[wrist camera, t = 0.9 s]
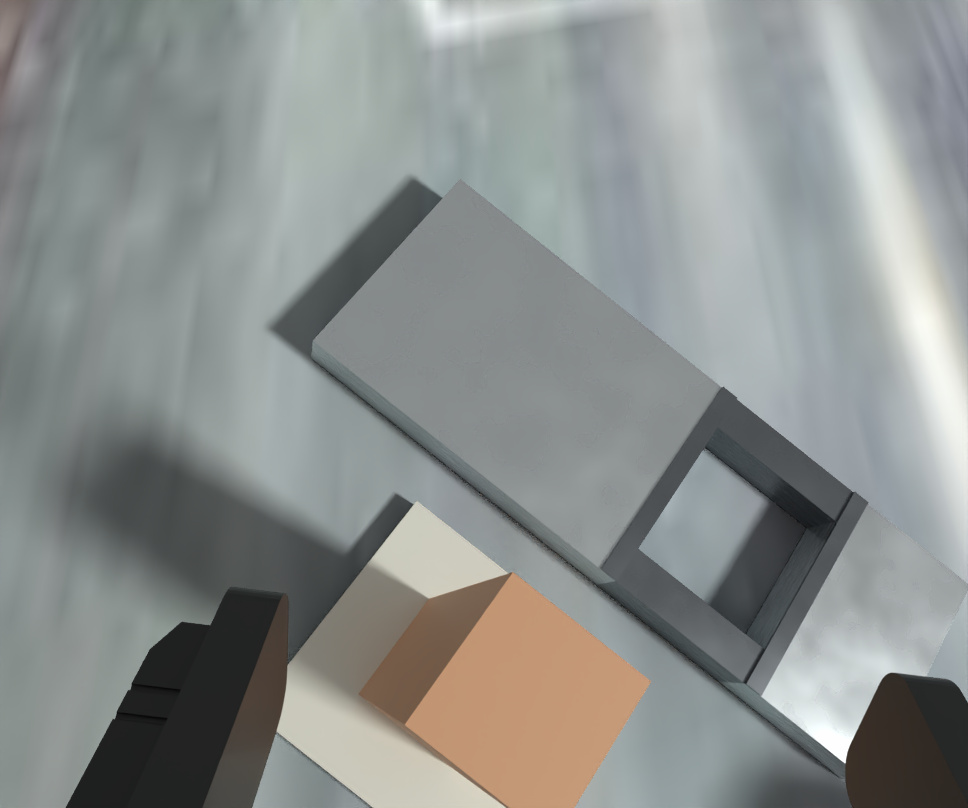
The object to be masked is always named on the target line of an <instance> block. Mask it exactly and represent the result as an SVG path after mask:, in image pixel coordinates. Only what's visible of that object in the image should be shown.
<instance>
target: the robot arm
mask: <svg viewBox="0 0 968 808" xmlns="http://www.w3.org/2000/svg"><path fill="white" fill-rule="evenodd" d="M287 658H288V596H287V594H285V593H277V592H269V591H261V590H253V589H245V588H237V587H230V588H229V589H228V590H227V592H226V594H225V596H224V598H223V600H222V602H221V604H220V606H219V608H218V610H217V613H216V615H215V617H214V619H213V621H212V623H211V625H203V624H195V623H187V622H181V623H180V624H179V625H178V626H176V627H175V628H174V629H173V630H172V631H171V632H169V633H168V634H167V635H166V636H165V637H164V638H162V639H161V640H160V641H159V642H158V643H157V644H155V645H154V646H153V647H152V648H151V649H150V650H149V652H148V654H147V656H146V658H145V660H144V661H143V663H142V665H141V667H140V669H139V671H138V673H137V675H136V676H135V678H134V680H133V682H132V687H131V690H128V692H127V693H126V695H125V697H124V699H123V701H122V703H121V705H120V707H119V708H118V710H117V715H116V718H115V719H113V720H112V722H111V723H110V725H109V727H108V729H107V731H106V733H105V735H104V737H103V739H102V740H101V742H100V744H99V746H98V748H97V750H96V752H95V754H94V755H93V757H92V759H91V761H90V763H89V765H88V767H87V769H86V770H85V772H84V774H83V776H82V778H81V780H80V782H79V784H78V786H77V787H76V789H75V791H74V793H73V795H72V797H71V799H70V801H69V802H68V804H67V806H66V808H252V806H253V803H254V800H255V797H256V793H257V790H258V787H259V784H260V781H261V778H262V775H263V772H264V768H265V765H266V762H267V759H268V756H269V753H270V750H271V746H272V743H273V740H274V737H275V734H276V731H277V728H278V724H279V721H280V717H281V713H282V708H283V703H284V698H285V691H286V684H287ZM845 779H846V787H847V792H848V796H849V799H850V802H851V804H852V807H853V808H968V703H967V701H966V699H965V697H964V696H963V694H962V692H961V691H960V689H959V688H958V686H957V685H956V684H955V683H953V682H952V681H950V680H948V679H941V678H933V677H925V676H917V675H909V674H901V673H888V674H887V675H885V676H884V677H883V679H882V680H881V682H880V684H879V686H878V688H877V690H876V692H875V694H874V696H873V698H872V700H871V702H870V704H869V706H868V709H867V711H866V713H865V715H864V717H863V719H862V721H861V723H860V725H859V727H858V729H857V731H856V733H855V736H854V738H853V740H852V742H851V744H850V746H849V749H848V752H847V756H846V763H845Z"/></svg>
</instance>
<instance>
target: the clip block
mask: <svg viewBox="0 0 968 808" xmlns="http://www.w3.org/2000/svg"><path fill="white" fill-rule="evenodd" d="M650 682H651V681H650V680H649V679H647V678H646V677H645V676H643V675H642V674H641V673H640V672H638V671H637V670H636V669H635V668H633V667H632V666H631V665H630V664H628V663H627V662H626V661H625V660H623V659H622V658H621V657H620V656H618V655H617V654H616V653H614V652H613V651H612V650H611V649H609V648H608V647H607V646H606V645H604V644H603V643H602V642H601V641H599V640H598V639H597V638H596V637H594V636H593V635H592V634H591V633H589V632H588V631H587V630H585V629H584V628H583V627H582V626H580V625H579V624H578V623H577V622H575V621H574V620H573V619H572V618H570V617H569V616H568V615H567V614H565V613H564V612H563V611H562V610H560V609H559V608H558V607H556V606H555V605H554V604H553V603H551V602H550V601H549V600H548V599H546V598H545V597H544V596H543V595H541V594H540V593H539V592H538V591H536V590H535V589H534V588H533V587H531V586H530V585H529V584H527V583H526V582H525V581H524V580H522V579H521V578H520V577H519V576H517V575H516V574H515V573H514V572H512V573H509V574H505V575H502V576H499V577H496V578H493V579H490V580H486V581H483V582H480V583H477V584H474V585H471V586H467V587H464V588H461V589H458V590H455V591H452V592H448V593H445V594H442V595H439V596H436V597H433V598H430V599H428V601H427V602H426V603H425V605H424V606H423V607H422V609H421V610H420V612H419V613H418V614H417V616H416V617H415V618H414V620H413V621H412V622H411V624H410V625H409V626H408V628H407V629H406V630H405V632H404V633H403V634H402V636H401V637H400V638H399V640H398V641H397V643H396V644H395V645H394V647H393V648H392V649H391V651H390V652H389V653H388V655H387V656H386V657H385V659H384V660H383V661H382V663H381V664H380V665H379V667H378V668H377V669H376V671H375V672H374V674H373V675H372V676H371V678H370V679H369V680H368V682H367V683H366V684H365V686H364V687H363V688H362V690H361V691H360V692H359V695H360V696H361V697H363V698H364V699H365V700H366V701H368V702H369V703H370V704H371V705H373V706H374V707H375V708H376V709H378V710H379V711H380V712H382V713H383V714H384V715H385V716H387V717H388V718H389V719H390V720H392V721H393V722H394V723H395V724H397V725H398V726H399V727H401V728H402V729H403V730H404V731H406V732H407V733H408V734H409V735H411V736H412V737H413V738H414V739H416V740H417V741H418V742H420V743H421V744H422V745H423V746H425V747H426V748H427V749H428V750H430V751H431V752H432V753H433V754H435V755H436V756H437V757H439V758H440V759H441V760H442V761H444V762H445V763H446V764H447V765H449V766H450V767H451V768H453V769H454V770H455V771H457V772H458V773H459V774H461V775H462V776H464V777H465V778H466V779H468V780H469V781H470V782H472V783H473V784H474V785H476V786H477V787H479V788H480V789H481V790H483V791H484V792H485V793H487V794H488V795H489V796H491V797H492V798H494V799H495V800H496V801H498V802H499V803H500V804H502V805H503V806H504V807H506V808H574V807H575V806H576V804H577V802H578V801H579V799H580V797H581V796H582V794H583V792H584V791H585V789H586V788H587V786H588V784H589V783H590V781H591V779H592V778H593V776H594V774H595V773H596V771H597V769H598V768H599V766H600V765H601V763H602V761H603V760H604V758H605V756H606V755H607V753H608V751H609V750H610V748H611V747H612V745H613V743H614V742H615V740H616V738H617V737H618V735H619V733H620V732H621V730H622V728H623V727H624V725H625V724H626V722H627V720H628V719H629V717H630V715H631V714H632V712H633V710H634V709H635V707H636V705H637V704H638V702H639V701H640V699H641V697H642V696H643V694H644V692H645V691H646V689H647V687H648V686H649V684H650Z"/></svg>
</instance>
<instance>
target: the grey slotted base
mask: <svg viewBox="0 0 968 808" xmlns="http://www.w3.org/2000/svg"><path fill="white" fill-rule="evenodd" d="M311 358H312V359H313V360H314V361H316V362H317V363H318V364H319V365H321V366H322V367H323V368H324V369H326V370H327V371H328V372H329V373H331V374H332V375H333V376H334V377H336V378H337V379H338V380H339V381H341V382H342V383H343V384H344V385H346V386H347V387H348V388H350V389H351V390H352V391H353V392H355V393H356V394H357V395H358V396H360V397H361V398H362V399H363V400H365V401H366V402H367V403H368V404H370V405H371V406H372V407H373V408H375V409H376V410H377V411H379V412H380V413H381V414H382V415H384V416H385V417H386V418H387V419H389V420H390V421H391V422H392V423H394V424H395V425H396V426H397V427H399V428H400V429H401V430H402V431H404V432H405V433H406V434H407V435H409V436H410V437H411V438H413V439H414V440H415V441H416V442H418V443H419V444H420V445H421V446H423V447H424V448H425V449H426V450H428V451H429V452H430V453H431V454H433V455H434V456H435V457H436V458H438V459H439V460H440V461H442V462H443V463H444V464H445V465H447V466H448V467H449V468H450V469H452V470H453V471H454V472H455V473H457V474H458V475H459V476H460V477H462V478H463V479H464V480H465V481H467V482H468V483H469V484H470V485H472V486H473V487H474V488H476V489H477V490H478V491H479V492H481V493H482V494H483V495H484V496H486V497H487V498H488V499H489V500H491V501H492V502H493V503H494V504H496V505H497V506H498V507H499V508H501V509H502V510H503V511H505V512H506V513H507V514H508V515H510V516H511V517H512V518H513V519H515V520H516V521H517V522H518V523H520V524H521V525H522V526H523V527H525V528H526V529H527V530H528V531H530V532H531V533H532V534H533V535H535V536H536V537H537V538H539V539H540V540H541V541H542V542H544V543H545V544H546V545H547V546H549V547H550V548H551V549H552V550H554V551H555V552H556V553H557V554H559V555H560V556H561V557H562V558H564V559H565V560H566V561H568V562H569V563H570V564H571V565H573V566H574V567H575V568H576V569H578V570H579V571H580V572H581V573H583V574H584V575H585V576H586V577H588V578H589V579H590V580H591V581H593V582H594V583H595V584H596V585H598V586H599V587H600V588H602V589H603V590H604V591H605V592H607V593H608V594H609V595H610V596H612V597H613V598H614V599H615V600H617V601H618V602H619V603H620V604H622V605H623V606H624V607H625V608H627V609H628V610H629V611H631V612H632V613H633V614H634V615H636V616H637V617H638V618H639V619H641V620H642V621H643V622H644V623H646V624H647V625H648V626H649V627H651V628H652V629H653V630H654V631H656V632H657V633H658V634H659V635H661V636H662V637H663V638H665V639H666V640H667V641H668V642H670V643H671V644H672V645H673V646H675V647H676V648H677V649H678V650H680V651H681V652H682V653H683V654H685V655H686V656H687V657H688V658H690V659H691V660H692V661H693V662H695V663H696V664H697V665H699V666H700V667H701V668H702V669H704V670H705V671H706V672H707V673H709V674H710V675H711V676H712V677H714V678H715V679H716V680H717V681H719V682H720V683H721V684H722V685H724V686H725V687H726V688H728V689H729V690H730V691H731V692H733V693H734V694H735V695H736V696H738V697H739V698H740V699H741V700H743V701H744V702H745V703H746V704H748V705H749V706H750V707H751V708H753V709H754V710H755V711H756V712H758V713H759V714H760V715H762V716H763V717H764V718H765V719H767V720H768V721H769V722H770V723H772V724H773V725H774V726H775V727H777V728H778V729H779V730H780V731H782V732H783V733H784V734H785V735H787V736H788V737H789V738H791V739H792V740H793V741H794V742H796V743H797V744H798V745H799V746H801V747H802V748H803V749H804V750H806V751H807V752H808V753H809V754H811V755H812V756H813V757H814V758H816V759H817V760H818V761H819V762H821V763H822V764H823V765H825V766H826V767H827V768H828V769H830V770H831V771H832V772H833V773H835V774H836V775H837V776H838V777H840V778H843V779H845V763H846V756H847V752H848V749H849V746H850V744H851V742H852V740H853V738H854V736H855V733H856V731H857V729H858V727H859V725H860V723H861V721H862V719H863V717H864V715H865V713H866V711H867V709H868V706H869V704H870V702H871V700H872V698H873V696H874V694H875V692H876V690H877V688H878V686H879V684H880V682H881V680H882V679H883V677H884V676H885V675H887V674H888V673H901V674H909V675H917V676H925V677H926V676H927V674H928V672H929V670H930V668H931V666H932V664H933V661H934V659H935V657H936V655H937V653H938V651H939V649H940V647H941V645H942V643H943V641H944V639H945V637H946V634H947V632H948V630H949V628H950V626H951V624H952V622H953V620H954V618H955V616H956V614H957V612H958V610H959V607H960V605H961V603H962V601H963V599H964V597H965V595H966V593H967V591H968V584H967V583H966V582H965V581H964V580H962V579H961V578H960V577H959V576H957V575H956V574H955V573H954V572H952V571H951V570H950V569H949V568H947V567H946V566H945V565H944V564H942V563H941V562H940V561H939V560H937V559H936V558H935V557H934V556H932V555H931V554H930V553H929V552H927V551H926V550H925V549H924V548H922V547H921V546H920V545H919V544H917V543H916V542H915V541H914V540H912V539H911V538H910V537H909V536H907V535H906V534H905V533H904V532H902V531H901V530H900V529H899V528H897V527H896V526H895V525H893V524H892V523H891V522H890V521H888V520H887V519H886V518H885V517H883V516H882V515H881V514H880V513H878V512H877V511H876V510H875V509H873V508H872V507H871V506H870V505H868V502H867V501H866V500H865V499H863V498H862V497H861V496H860V495H858V494H857V493H856V492H852V491H851V490H850V489H848V488H847V487H846V486H845V485H843V484H842V483H841V482H840V481H838V480H837V479H836V478H835V477H833V476H832V475H831V474H830V473H828V472H827V471H826V470H825V469H823V468H822V467H821V466H819V465H818V464H817V463H816V462H814V461H813V460H812V459H811V458H809V457H808V456H807V455H806V454H804V453H803V452H802V451H801V450H799V449H798V448H797V447H796V446H794V445H793V444H792V443H791V442H789V441H788V440H787V439H786V438H784V437H783V436H782V435H781V434H779V433H778V432H777V431H776V430H774V429H773V428H772V427H771V426H769V425H768V424H767V423H766V422H764V421H763V420H762V419H761V418H759V417H758V416H757V415H756V414H754V413H753V412H752V411H751V410H749V409H748V408H747V407H745V406H744V405H743V404H742V403H740V402H739V401H738V400H737V397H735V396H734V395H733V394H732V393H730V392H729V391H728V390H727V389H725V388H724V387H720V386H719V385H718V384H717V383H715V382H714V381H713V380H712V379H710V378H709V377H708V376H707V375H705V374H704V373H703V372H702V371H700V370H699V369H698V368H697V367H695V366H694V365H693V364H692V363H690V362H689V361H688V360H687V359H685V358H684V357H683V356H682V355H680V354H679V353H678V352H677V351H675V350H674V349H673V348H671V347H670V346H669V345H668V344H666V343H665V342H664V341H663V340H661V339H660V338H659V337H658V336H656V335H655V334H654V333H653V332H651V331H650V330H649V329H648V328H646V327H645V326H644V325H643V324H641V323H640V322H639V321H638V320H636V319H635V318H634V317H633V316H631V315H630V314H629V313H628V312H626V311H625V310H624V309H623V308H621V307H620V306H619V305H618V304H616V303H615V302H614V301H613V300H611V299H610V298H609V297H608V296H606V295H605V294H604V293H603V292H601V291H600V290H599V289H597V288H596V287H595V286H594V285H592V284H591V283H590V282H589V281H587V280H586V279H585V278H584V277H582V276H581V275H580V274H579V273H577V272H576V271H575V270H574V269H572V268H571V267H570V266H569V265H567V264H566V263H565V262H564V261H562V260H561V259H560V258H559V257H557V256H556V255H555V254H554V253H552V252H551V251H550V250H549V249H547V248H546V247H545V246H544V245H542V244H541V243H540V242H539V241H537V240H536V239H535V238H534V237H532V236H531V235H530V234H529V233H527V232H526V231H525V230H523V229H522V228H521V227H520V226H518V225H517V224H516V223H515V222H513V221H512V220H511V219H510V218H508V217H507V216H506V215H505V214H503V213H502V212H501V211H500V210H498V209H497V208H496V207H495V206H493V205H492V204H491V203H490V202H488V201H487V200H486V199H485V198H483V197H482V196H481V195H480V194H478V193H477V192H476V191H475V190H473V189H472V188H471V187H470V186H468V185H467V184H466V183H465V182H463V181H462V180H461V179H460V180H459V181H458V182H457V183H456V184H455V185H454V186H453V187H452V189H451V190H450V191H449V192H448V193H447V194H446V195H445V196H444V197H443V198H442V200H441V201H440V202H439V203H438V204H437V205H436V206H435V207H434V208H433V209H432V210H431V212H430V213H429V214H428V215H427V216H426V217H425V218H424V219H423V220H422V221H421V223H420V224H419V225H418V226H417V227H416V228H415V229H414V230H413V231H412V232H411V233H410V235H409V236H408V237H407V238H406V239H405V240H404V241H403V242H402V243H401V244H400V246H399V247H398V248H397V249H396V250H395V251H394V252H393V253H392V254H391V255H390V256H389V258H388V259H387V260H386V261H385V262H384V263H383V264H382V265H381V266H380V267H379V268H378V270H377V271H376V272H375V273H374V274H373V275H372V276H371V277H370V278H369V279H368V281H367V282H366V283H365V284H364V285H363V286H362V287H361V288H360V289H359V290H358V291H357V293H356V294H355V295H354V296H353V297H352V298H351V299H350V300H349V301H348V302H347V304H346V305H345V306H344V307H343V308H342V309H341V310H340V311H339V312H338V313H337V314H336V316H335V317H334V318H333V319H332V320H331V321H330V322H329V323H328V324H327V325H326V327H325V328H324V329H323V330H322V331H321V332H320V333H319V334H318V335H317V336H316V337H315V339H314V340H313V342H312V353H311ZM704 447H706V448H707V449H708V450H710V451H711V452H712V453H713V454H715V455H716V456H717V457H718V458H720V459H721V460H722V461H724V462H725V463H726V464H727V465H729V466H730V467H731V468H732V469H734V470H735V471H736V472H737V473H739V474H740V475H741V476H742V477H744V478H745V479H746V480H747V481H749V482H750V483H751V484H752V485H754V486H755V487H756V488H757V489H759V490H760V491H761V492H762V493H764V494H765V495H766V496H767V497H769V498H770V499H771V500H772V501H774V502H775V503H776V504H778V505H779V506H780V507H781V508H783V509H784V510H785V511H786V512H788V513H789V514H790V515H791V516H793V517H794V518H795V519H796V520H798V521H799V522H800V523H801V524H803V525H804V526H805V527H806V528H807V529H806V531H805V533H804V535H803V536H802V538H801V540H800V542H799V543H798V545H797V547H796V548H795V550H794V552H793V554H792V555H791V557H790V559H789V561H788V562H787V564H786V566H785V567H784V569H783V571H782V573H781V574H780V576H779V578H778V580H777V581H776V583H775V585H774V587H773V588H772V590H771V592H770V593H769V595H768V597H767V599H766V600H765V602H764V604H763V606H762V607H761V609H760V611H759V612H758V614H757V616H756V618H755V619H754V621H753V623H752V625H751V626H750V628H749V630H748V632H747V633H746V634H745V633H743V632H742V631H741V630H739V629H738V628H737V627H736V626H734V625H733V624H732V623H731V622H729V621H728V620H727V619H726V618H724V617H723V616H722V615H721V614H719V613H718V612H717V611H716V610H714V609H713V608H712V607H711V606H709V605H708V604H707V603H706V602H704V601H703V600H702V599H700V598H699V597H698V596H697V595H695V594H694V593H693V592H692V591H690V590H689V589H688V588H687V587H685V586H684V585H683V584H682V583H680V582H679V581H678V580H677V579H675V578H674V577H673V576H672V575H670V574H669V573H668V572H666V571H665V570H664V569H663V568H661V567H660V566H659V565H658V564H656V563H655V562H654V561H653V560H651V559H650V558H649V557H648V556H646V555H645V554H644V553H643V552H641V551H640V550H639V549H638V548H639V546H640V545H641V543H642V542H643V540H644V539H645V537H646V536H647V534H648V533H649V531H650V530H651V528H652V527H653V525H654V524H655V522H656V520H657V519H658V517H659V516H660V514H661V513H662V511H663V510H664V508H665V507H666V505H667V504H668V502H669V501H670V499H671V498H672V496H673V495H674V493H675V492H676V490H677V488H678V487H679V485H680V484H681V482H682V481H683V479H684V478H685V476H686V475H687V473H688V472H689V470H690V469H691V467H692V466H693V464H694V463H695V461H696V459H697V458H698V456H699V455H700V453H701V452H702V450H703V449H704Z"/></svg>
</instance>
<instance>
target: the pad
mask: <svg viewBox="0 0 968 808" xmlns="http://www.w3.org/2000/svg"><path fill="white" fill-rule="evenodd" d="M505 574H508V573H507V572H506V571H505V570H503V569H502V568H501V567H500V566H498V565H497V564H496V563H495V562H493V561H492V560H491V559H489V558H488V557H487V556H486V555H484V554H483V553H482V552H481V551H479V550H478V549H477V548H476V547H474V546H473V545H472V544H471V543H469V542H468V541H467V540H466V539H464V538H463V537H462V536H460V535H459V534H458V533H457V532H455V531H454V530H453V529H452V528H450V527H449V526H448V525H447V524H445V523H444V522H443V521H442V520H440V519H439V518H438V517H437V516H435V515H434V514H433V513H431V512H430V511H429V510H428V509H426V508H425V507H424V506H423V505H421V504H420V503H419V502H418V501H416V502H415V503H414V505H413V506H412V507H411V508H410V510H409V511H408V512H407V513H406V515H405V516H404V517H403V519H402V520H401V521H400V522H399V524H398V525H397V526H396V527H395V529H394V530H393V531H392V533H391V534H390V535H389V536H388V538H387V539H386V540H385V542H384V543H383V544H382V545H381V547H380V548H379V549H378V550H377V552H376V553H375V554H374V556H373V557H372V558H371V559H370V561H369V562H368V563H367V564H366V566H365V567H364V568H363V570H362V571H361V572H360V573H359V575H358V576H357V577H356V578H355V580H354V581H353V582H352V584H351V585H350V586H349V587H348V589H347V590H346V591H345V592H344V594H343V595H342V596H341V598H340V599H339V600H338V601H337V603H336V604H335V605H334V606H333V608H332V609H331V610H330V612H329V613H328V614H327V615H326V617H325V618H324V619H323V620H322V622H321V623H320V624H319V626H318V627H317V628H316V629H315V631H314V632H313V633H312V634H311V636H310V637H309V638H308V640H307V641H306V642H305V643H304V645H303V646H302V647H301V648H300V650H299V651H298V652H297V654H296V655H295V656H294V657H293V659H292V660H291V661H290V662H289V664H288V665H287V684H286V691H285V698H284V703H283V708H282V713H281V717H280V721H279V724H278V728H277V732H278V733H279V734H280V735H282V736H283V737H284V738H285V739H287V740H288V741H289V742H290V743H292V744H293V745H294V746H296V747H297V748H298V749H299V750H301V751H302V752H303V753H304V754H306V755H307V756H308V757H309V758H311V759H312V760H313V761H315V762H316V763H317V764H318V765H320V766H321V767H322V768H323V769H325V770H326V771H327V772H328V773H330V774H331V775H332V776H334V777H335V778H336V779H337V780H339V781H340V782H341V783H342V784H344V785H345V786H346V787H348V788H349V789H350V790H351V791H353V792H354V793H355V794H356V795H358V796H359V797H360V798H361V799H363V800H364V801H365V802H367V803H368V804H369V805H370V806H372V807H373V808H506V807H504V806H503V805H502V804H500V803H499V802H498V801H496V800H495V799H494V798H492V797H491V796H489V795H488V794H487V793H485V792H484V791H483V790H481V789H480V788H479V787H477V786H476V785H474V784H473V783H472V782H470V781H469V780H468V779H466V778H465V777H464V776H462V775H461V774H459V773H458V772H457V771H455V770H454V769H453V768H451V767H450V766H449V765H447V764H446V763H445V762H444V761H442V760H441V759H440V758H439V757H437V756H436V755H435V754H433V753H432V752H431V751H430V750H428V749H427V748H426V747H425V746H423V745H422V744H421V743H420V742H418V741H417V740H416V739H414V738H413V737H412V736H411V735H409V734H408V733H407V732H406V731H404V730H403V729H402V728H401V727H399V726H398V725H397V724H395V723H394V722H393V721H392V720H390V719H389V718H388V717H387V716H385V715H384V714H383V713H382V712H380V711H379V710H378V709H376V708H375V707H374V706H373V705H371V704H370V703H369V702H368V701H366V700H365V699H364V698H363V697H361V696H360V695H359V692H360V691H361V690H362V688H363V687H364V686H365V684H366V683H367V682H368V680H369V679H370V678H371V676H372V675H373V674H374V672H375V671H376V669H377V668H378V667H379V665H380V664H381V663H382V661H383V660H384V659H385V657H386V656H387V655H388V653H389V652H390V651H391V649H392V648H393V647H394V645H395V644H396V643H397V641H398V640H399V638H400V637H401V636H402V634H403V633H404V632H405V630H406V629H407V628H408V626H409V625H410V624H411V622H412V621H413V620H414V618H415V617H416V616H417V614H418V613H419V612H420V610H421V609H422V607H423V606H424V605H425V603H426V602H427V601H428V599H430V598H433V597H436V596H439V595H442V594H445V593H448V592H452V591H455V590H458V589H461V588H464V587H467V586H471V585H474V584H477V583H480V582H483V581H486V580H490V579H493V578H496V577H499V576H502V575H505Z"/></svg>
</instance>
